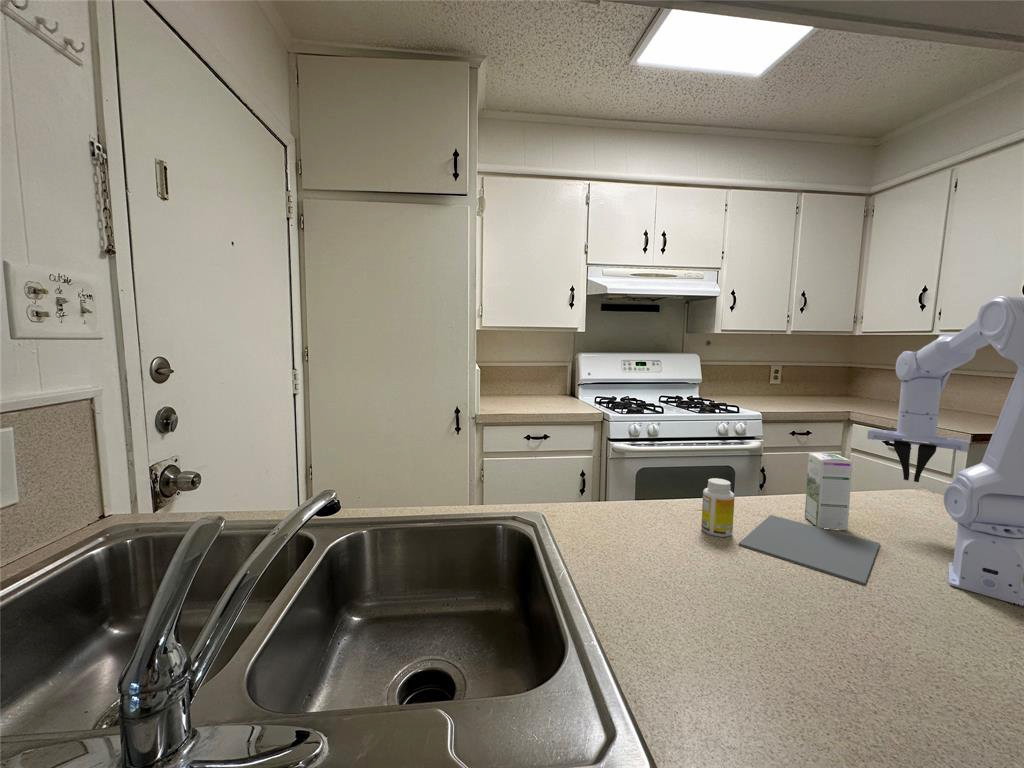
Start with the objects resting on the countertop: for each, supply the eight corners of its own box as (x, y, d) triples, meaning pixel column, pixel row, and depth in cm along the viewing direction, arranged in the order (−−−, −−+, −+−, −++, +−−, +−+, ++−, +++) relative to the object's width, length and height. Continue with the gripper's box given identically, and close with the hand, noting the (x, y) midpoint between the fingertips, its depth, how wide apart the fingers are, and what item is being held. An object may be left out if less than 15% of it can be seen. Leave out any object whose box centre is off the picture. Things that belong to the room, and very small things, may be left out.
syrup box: (848, 531, 85) (855, 460, 84) (815, 528, 86) (821, 458, 85) (833, 520, 91) (839, 453, 90) (802, 517, 92) (807, 451, 91)
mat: (864, 585, 65) (865, 582, 65) (738, 545, 78) (738, 543, 78) (879, 545, 79) (879, 543, 79) (770, 516, 92) (770, 514, 92)
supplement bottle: (737, 533, 83) (740, 482, 83) (724, 540, 80) (727, 487, 79) (709, 523, 88) (712, 475, 87) (695, 530, 84) (698, 480, 83)
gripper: (971, 415, 82) (963, 484, 83) (872, 407, 92) (867, 468, 93) (972, 419, 77) (964, 492, 78) (868, 410, 87) (862, 474, 88)
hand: (911, 480), depth 85 cm, fingers closed
